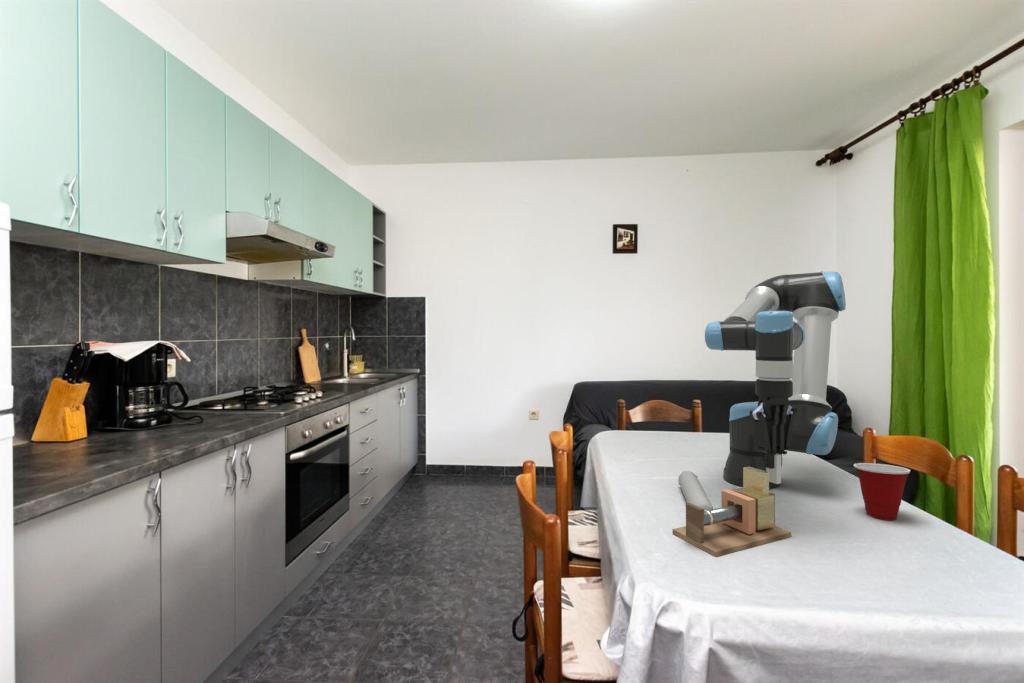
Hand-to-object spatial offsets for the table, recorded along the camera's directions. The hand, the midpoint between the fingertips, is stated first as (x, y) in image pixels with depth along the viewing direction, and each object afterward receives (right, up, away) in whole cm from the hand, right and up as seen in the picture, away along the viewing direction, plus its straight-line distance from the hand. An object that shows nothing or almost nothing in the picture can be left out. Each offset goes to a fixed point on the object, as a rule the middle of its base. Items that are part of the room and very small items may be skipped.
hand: (773, 481), depth 110 cm
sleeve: (-6, -9, -2) cm, 11 cm away
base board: (-12, -10, -5) cm, 17 cm away
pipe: (-12, -7, -5) cm, 15 cm away
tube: (-13, -10, +14) cm, 22 cm away
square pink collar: (-10, -9, -4) cm, 14 cm away
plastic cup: (+28, -10, +5) cm, 30 cm away
